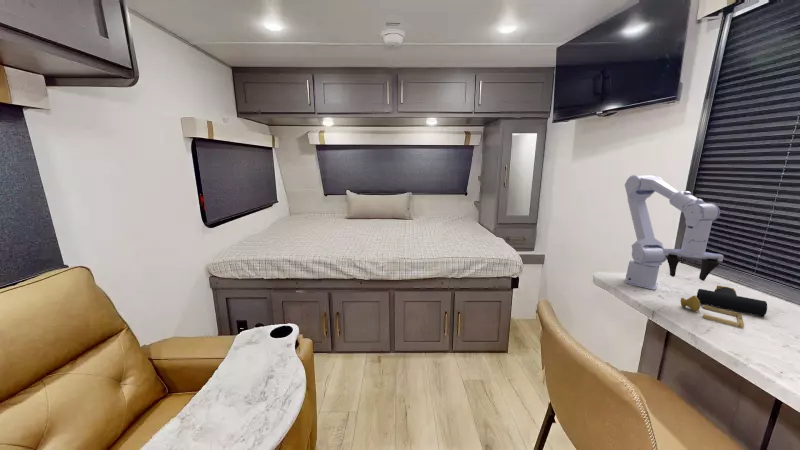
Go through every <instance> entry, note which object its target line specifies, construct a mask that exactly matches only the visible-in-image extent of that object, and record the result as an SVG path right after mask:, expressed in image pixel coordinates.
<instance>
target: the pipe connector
mask: <svg viewBox="0 0 800 450" xmlns="http://www.w3.org/2000/svg"><path fill="white" fill-rule="evenodd" d="M696 297H697V298H698V299H699V301H700V305H708V306H712V307H716V308H720V309H724V310H729V311H733V312H738V313H746V314H747V315H748V314H749V315H753V316H758V317H762V318H763V317H765V316H766V314H767V311H768V303H767V301H765V300H760V299H755V298H751V297H745V296H740V295H737V292H736V290H735V288H733V287H730V286H722V285H717V286H716V288H715V289H714V291H713V290H708V289H702V288H699V289H697V293H696Z"/></svg>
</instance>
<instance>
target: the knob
mask: <svg viewBox="0 0 800 450" xmlns="http://www.w3.org/2000/svg"><path fill="white" fill-rule="evenodd" d="M680 306H681V308H685V307H688V309H690V310H692V311H694V312H699V310H700V308H701V303H700V301H699V299H698V298H697V295H692V296H690V297H689V298H687V299H685V297H681V298H680Z"/></svg>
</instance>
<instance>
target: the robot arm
mask: <svg viewBox="0 0 800 450" xmlns="http://www.w3.org/2000/svg"><path fill="white" fill-rule="evenodd" d="M624 187H625V192H626V196H627V203H628V208H629V211H630V215H631V220H632V223H633V224H632V225H633V228H634V232H635V233H634V234H635V236H636V241H635V242H634V243H633V244H632V245H631V249H632V251H631V257H632V260H629V262H628V265H627V271H626V275H625V282H624V283H625V284H628V285H632V286H636V287H640V288H644V289H649V290H653V291H656V290H657V287H658V282H657V280H658V275H659V272H660V271H659V270H660V266H662V264H663V263H665V262H666V261H667V263H668V269H669V276H671V277H672V278H673V277H675V276H676V272H677V267H678V265H679V262H680V259H679V257H681V258H692V259H700V260H701V268H700V272H699V277H698V279H699V280H701V281H702V282H704V281H706V279H707V277H708V276H709V274H710V273H711V272H712V271H713V270H714V269H716V268H717V267H718V266H719V264H720V262H721V263H722V262H723V260H724V255H723V254H721V253H714V252H708V251H706V249H707V244H708V241H709V237H710V233H711V230H712V229H711V228H712V224H713V222H714V221H715V220H717V219H718V218H719V217H720V215H721V209H720V208H719V206H718V205H717V204H716V203H714V202H707V203H706V202H705V201H704V200H703V199H702V198H698V197H696V196H694V195H693V194H692V192H691V191H688V190H685V191H684V190H678V189H676V188H674V187H673V186H671V185H670V184H669V183H667V182H666V181H664V178H663V177H660V176H659V175H657V174H652V175H651V174H650V175H635V174H633V175H630V176H629V177H628V178H627V179H626V182H625V183H624ZM655 192H656V193H658V194H659V195H661V196H663V197H665V198H667V199H668V200H669V204H670V205H671V206H673V207H674V208H676V209H677V210H678V211H680V212H682V213H683V217H684V218H685V221H684V222H685V223H684V224H685V225H686V226H685V230H684V235H683V238H682V239H683V240H682V243H681V248H665V247H664V246H663V242H661V241H660V240H658V239H657V238H655V233H654V230H653V225H652V222H651V217H650V214H649V211H648V207H647V203H646V200H647V199H648V198H650V197H651V196H652V195H654V194H655Z"/></svg>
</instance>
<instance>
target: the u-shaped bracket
mask: <svg viewBox="0 0 800 450" xmlns="http://www.w3.org/2000/svg"><path fill="white" fill-rule="evenodd" d="M702 309H705V310H708V311H713V312H715V313H716V312H717V313H720V314H725V315H729V316H733V317H735V318H736V321H733V320H729V319H726V318H721V317H718V316H713V315H709V314H707V313H703V314H702V318H703V319H706V320H709V321H714V322H718V323H721V324H725V325H729V326H732V327H736V328H741V329H744V328H745V327H744V326H745V324H744V323H745V322H744V319H743V314H742V312H738V311H734V310H729V309H725V308H720V307H715V306H711V305H706V304H702Z"/></svg>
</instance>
